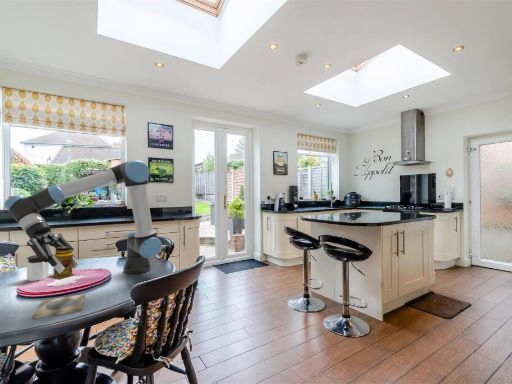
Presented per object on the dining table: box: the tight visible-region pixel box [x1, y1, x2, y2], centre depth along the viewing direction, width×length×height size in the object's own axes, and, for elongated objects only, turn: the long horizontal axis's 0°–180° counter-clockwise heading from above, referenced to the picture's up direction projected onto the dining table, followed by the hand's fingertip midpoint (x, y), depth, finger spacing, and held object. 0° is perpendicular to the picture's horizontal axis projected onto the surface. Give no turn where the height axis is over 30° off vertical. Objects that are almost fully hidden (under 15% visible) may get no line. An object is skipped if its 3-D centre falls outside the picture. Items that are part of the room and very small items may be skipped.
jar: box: [26, 254, 50, 282], centre depth 138 cm, size 9×8×12 cm
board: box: [32, 293, 86, 320], centre depth 105 cm, size 15×15×1 cm
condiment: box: [46, 245, 78, 280], centre depth 106 cm, size 7×8×12 cm
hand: (69, 268), depth 105 cm, fingers closed on condiment, 6 cm apart
